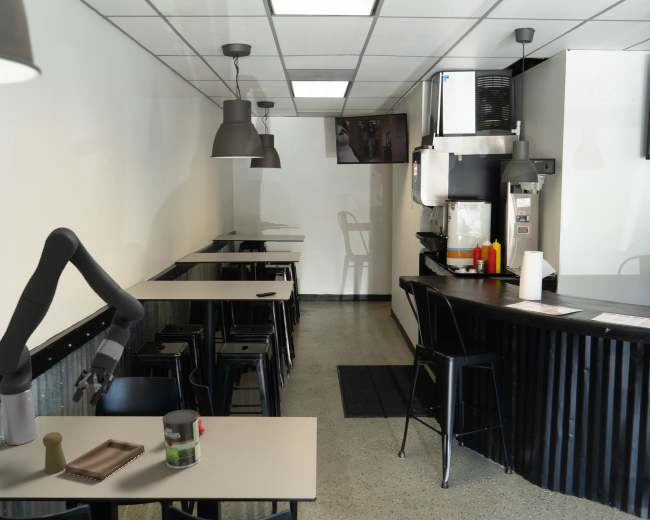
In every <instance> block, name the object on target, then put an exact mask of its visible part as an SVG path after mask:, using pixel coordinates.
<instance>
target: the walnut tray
mask: <svg viewBox="0 0 650 520" xmlns="http://www.w3.org/2000/svg"><path fill="white" fill-rule="evenodd" d="M143 452H145V445H142V444H139V443H133V442H127V441H123V440H117V439H112V438H109V439H107V440H105V441H104V442H102V443H100V444H98V446H96V447H94V448H91V450H89V451H87V452H85V453H83V454H82V455H80V456H79V457H77V458H75V459H73V460H72V461H69V462H68V463H66V465H65V470H64V471H65V474H68V473H70V474H69V475H72V474H75V475H74V476H76V475H79V476H78V477H81V476H84V477H83V478H85V477H88V478H87V479H90V478H92V479H91V480H94V479H96V480H95V481H98V480H101V481H100V482H103V481H104V479H105V478H106V477H108V476H109V475H111V474H112V473H113V472H115V471H116V470H118V469H119V468H121V467H122V466H124V465H125V464H127V463H128V462H130V461H131V460H133V459H134V458H135V457H137V456H138V455H140V454H141V453H143ZM133 461H134V460H133ZM130 463H131V462H130ZM127 465H128V464H127ZM124 467H125V466H124ZM121 469H122V468H121ZM118 471H119V470H118ZM115 473H116V472H115ZM112 475H113V474H112ZM112 475H111V476H112ZM109 477H110V476H109ZM109 477H108V478H109ZM106 479H107V478H106ZM106 479H105V480H106ZM102 480H103V481H102Z"/></svg>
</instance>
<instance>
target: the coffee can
mask: <svg viewBox="0 0 650 520" xmlns="http://www.w3.org/2000/svg"><path fill="white" fill-rule="evenodd" d="M198 415H199V414H198V412H197V411H195V410H192V409H178V410H173V411H170V412H168V413H166V414H165V415H164V416H163V417H162V420H161V421H162V424H163V433H164V447H165V458H166V462H165V463H166V465H167V467H169V468H171V469H175V470H176V469H177V470H179V469H187V468H191V467H193V466H195V465H197V464H198V463H199V462H201V459H202V458H201V457H202V455H201V446H200V445H201V444H200V435H199V429H198V420H199V419H198V418H199V416H198Z"/></svg>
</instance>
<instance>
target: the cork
mask: <svg viewBox="0 0 650 520" xmlns="http://www.w3.org/2000/svg"><path fill="white" fill-rule="evenodd" d="M62 441H63V436H62V434H61V433H60V432H57V431H53V432H49V433H46V434H45V435H44V436H43V438H42V443H43V446H44V447H45V454H44V455H45V458H44V460H45V461H44V463H45V464H44V465H45V466H44V472H45V473H46V474H48V475H53V474H59V473H61V472H63V471H65V470H64V469H65V465H66V464H67V461H66V458H65V454H64V450H63V446H62ZM60 471H61V472H60ZM58 472H59V473H58Z"/></svg>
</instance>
